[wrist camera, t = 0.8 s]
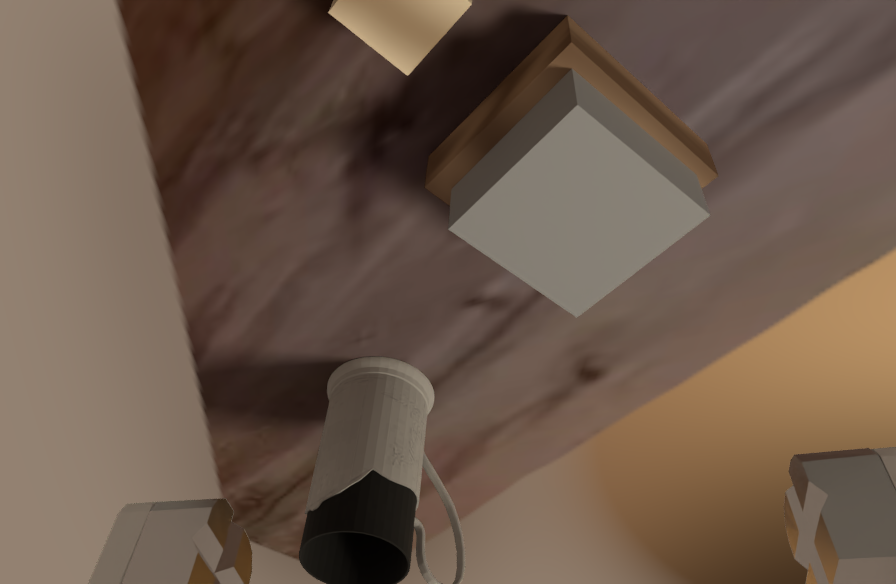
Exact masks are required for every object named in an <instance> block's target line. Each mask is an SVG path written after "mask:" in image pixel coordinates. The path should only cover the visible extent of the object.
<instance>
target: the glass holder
mask: <svg viewBox="0 0 896 584" xmlns="http://www.w3.org/2000/svg"><path fill="white" fill-rule="evenodd" d="M327 394H328V399H329V406H328V410H327V415H326V420H325V424H324V429H323V433H322V438H321V442H320V447H319V452H318V456H317V461H316V465H315V470H314V475H313V479H312V484H311V488H310V493H309V497H308V502H307V507H306V511H305V514H307V519H306V523H305V528H304V533H303V537H302V542H301V547H300V551H299V559H300V563H301V564H302V566H303V568H304V569H305V570H306V571H307V572H308V573H309V574H310V575H312V576H313V577H315V578H316V579H318V580H320V581H322V582H324V583H326V584H397V583H398V582H400V581H402V580H403V579H404V578H405V577H406V576H407V574H408V572H409V569H410V561H411V552H412V542H413V531H414V528H415V530H416V535H417V542H416V557H417V562H418V567H419V569H420V571H421V574H422V576H423V577H424V579H425V580H426V582H427V583H428V584H442V583H440V582H439V581H438V580H437V579H435V577H434V576H433V574H432V573H431V571H430V569H429V567H428V564H427V561H426V556H425V531H424V527H423V525H422V523H421V522H420V521H419V520H418V519H417V518H416V517H415V511H416V509H417V507H418V503H419V495H420V485H421V474H422V466H423V468H424V470H425V471H426V473H427V475H428V476H429V478H430V479H431V481H432V483H433V484H434V486H435V488H436V490H437V492H438V493H439V495H440V497H441V499H442V501H443V503H444V505H445V507H446V510H447V513H448V515H449V518H450V521H451V525H452V529H453V532H454V536H455V543H456V550H457V571H456V578H455V581H454V582H453V584H460V583H461V582H462V580H463V577H464V571H465V547H464V540H463V533H462V529H461V526H460V522H459V518H458V515H457V512H456V509H455V506H454V504H453V502H452V500H451V498H450V496H449V494H448V492H447V490H446V489H445V487H444V485H443V483H442V481H441V480H440V478H439V476H438V475H437V473H436V471H435V470H434V468H433V466H432V465H431V463H430V461H429V460H428V458H427V456H426V455H425V453H424V443H425V432H426V422H427V415H428V414H429V412H430V411H431V409H432V406H433V403H434V390H433V387H432V385H431V383H430V382H429V380H428V379H427V378H426V376H425V375H424V374H423V373H422V372H420V371H419V370H418V369H416V368H415V367H413V366H411V365H409V364H407V363H405V362H402V361H400V360H396V359H392V358H387V357H373V356H370V357H362V358H358V359H354V360H351V361H348V362H346V363H344V364H343V365H341V366H339V367H338V368H337V369H336V370H335V371H334V372H333V373H332V375H331V376H330V378H329V381H328V384H327Z"/></svg>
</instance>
